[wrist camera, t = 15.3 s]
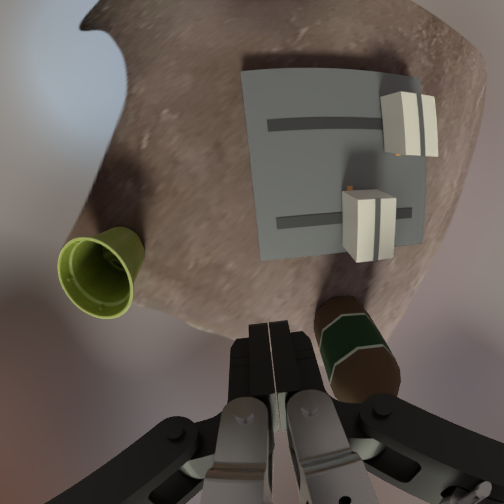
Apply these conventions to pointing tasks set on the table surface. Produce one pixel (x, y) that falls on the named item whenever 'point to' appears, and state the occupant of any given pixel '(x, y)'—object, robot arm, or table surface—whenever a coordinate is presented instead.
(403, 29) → the table surface
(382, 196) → the block
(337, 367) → the beer bottle
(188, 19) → the table surface
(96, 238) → the plant pot
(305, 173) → the fader board
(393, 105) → the block
